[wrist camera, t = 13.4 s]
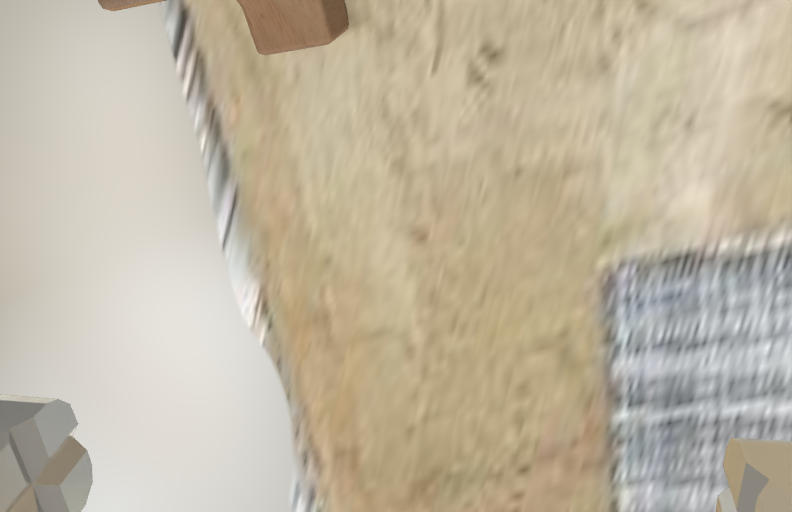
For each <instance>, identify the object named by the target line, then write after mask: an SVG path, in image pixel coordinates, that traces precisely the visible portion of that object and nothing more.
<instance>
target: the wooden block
mask: <svg viewBox="0 0 792 512" xmlns="http://www.w3.org/2000/svg"><path fill="white" fill-rule="evenodd" d="M161 1H166V0H98V2H99V3H100V5H101V6H102V8H103V9H107V10H111V11H117V10H122V9H126V8H131V7H136V6H141V5H146V4H151V3H156V2H161ZM237 1H238V3H239V4H240V5H241V7H242V8H243V11H244V14H245V17H246V20H247V23H248V26H249V29H250V32H251V34H252V37H253V40H254V43H255V46H256V49H257V51H258V52H259V54H262V55H270V54H276V53H282V52H287V51H293V50H299V49H304V48H310V47H316V46H322V45H327V44H329V43H331V42H332V41H333V40H335V39H336V38H337V37H338V36H340V35H341V34H342V33H343V32H345V31H346V30H347V29H348V25H349V23H348V18H347V14H346V9H345V4H344V0H237Z"/></svg>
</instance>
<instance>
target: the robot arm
mask: <svg viewBox="0 0 792 512" xmlns="http://www.w3.org/2000/svg"><path fill="white" fill-rule="evenodd" d="M77 425H78V423H77V420H76V418H75V415H74V413H73V410H72V408H71V406H70V404H68V403H66V402H64V401H61V400H59V399H50V398H38V397H26V396H13V395H1V394H0V512H81V510H82V509H83V508H84V506H85V505H86V502H87V499H88V495H89V492H90V489H91V485H92V464H91V461H90V458H89V455H88V452H87V450H86V449H85V448H84V447H83V446H82V445H81V444H80V443H79V442H78V441H77V440H75V439H74V438H73V437H72V436H73V434H74V431H75V429H76V427H77ZM723 467H724V470H725V474H726V477H727V480H728V484H729V487H728V488H727V489H725V490H724V491H723V492H722V493H721V494H719V495H718V499H717V506H716V512H792V441H780V440H761V439H742V438H731V439H730V441H729V443H728V445H727V448H726V452H725V458H724V463H723Z"/></svg>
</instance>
